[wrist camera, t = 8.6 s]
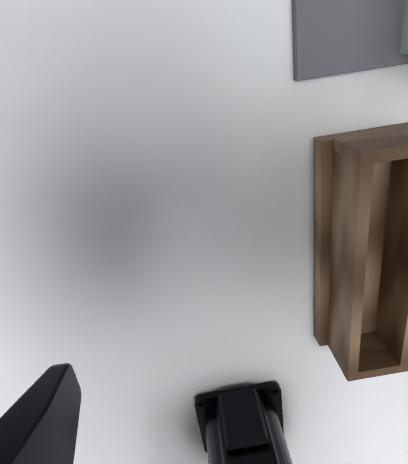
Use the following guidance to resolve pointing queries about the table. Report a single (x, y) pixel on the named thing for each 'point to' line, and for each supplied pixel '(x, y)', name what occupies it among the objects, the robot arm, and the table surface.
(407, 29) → the green rectangular block
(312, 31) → the mat
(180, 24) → the table surface
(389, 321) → the rack
